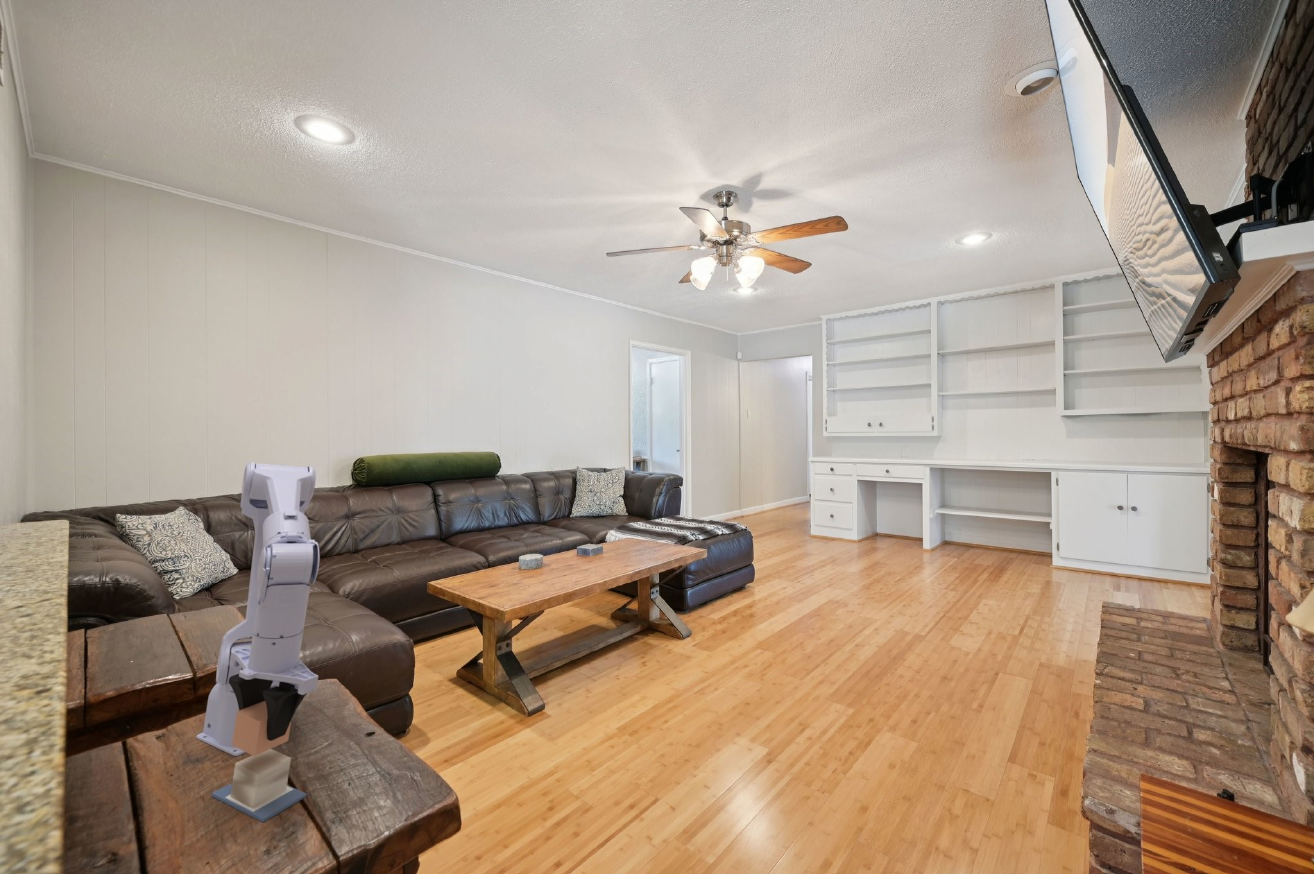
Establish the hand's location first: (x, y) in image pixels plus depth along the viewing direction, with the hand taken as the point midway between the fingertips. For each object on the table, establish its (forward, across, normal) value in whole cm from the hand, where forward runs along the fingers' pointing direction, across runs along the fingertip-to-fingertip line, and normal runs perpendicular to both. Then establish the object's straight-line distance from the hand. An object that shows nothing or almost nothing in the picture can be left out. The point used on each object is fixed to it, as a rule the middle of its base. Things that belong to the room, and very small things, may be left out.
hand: (263, 731), depth 75 cm
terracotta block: (+2, 0, 0) cm, 2 cm away
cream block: (+9, 0, +1) cm, 9 cm away
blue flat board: (+9, 0, +1) cm, 9 cm away
